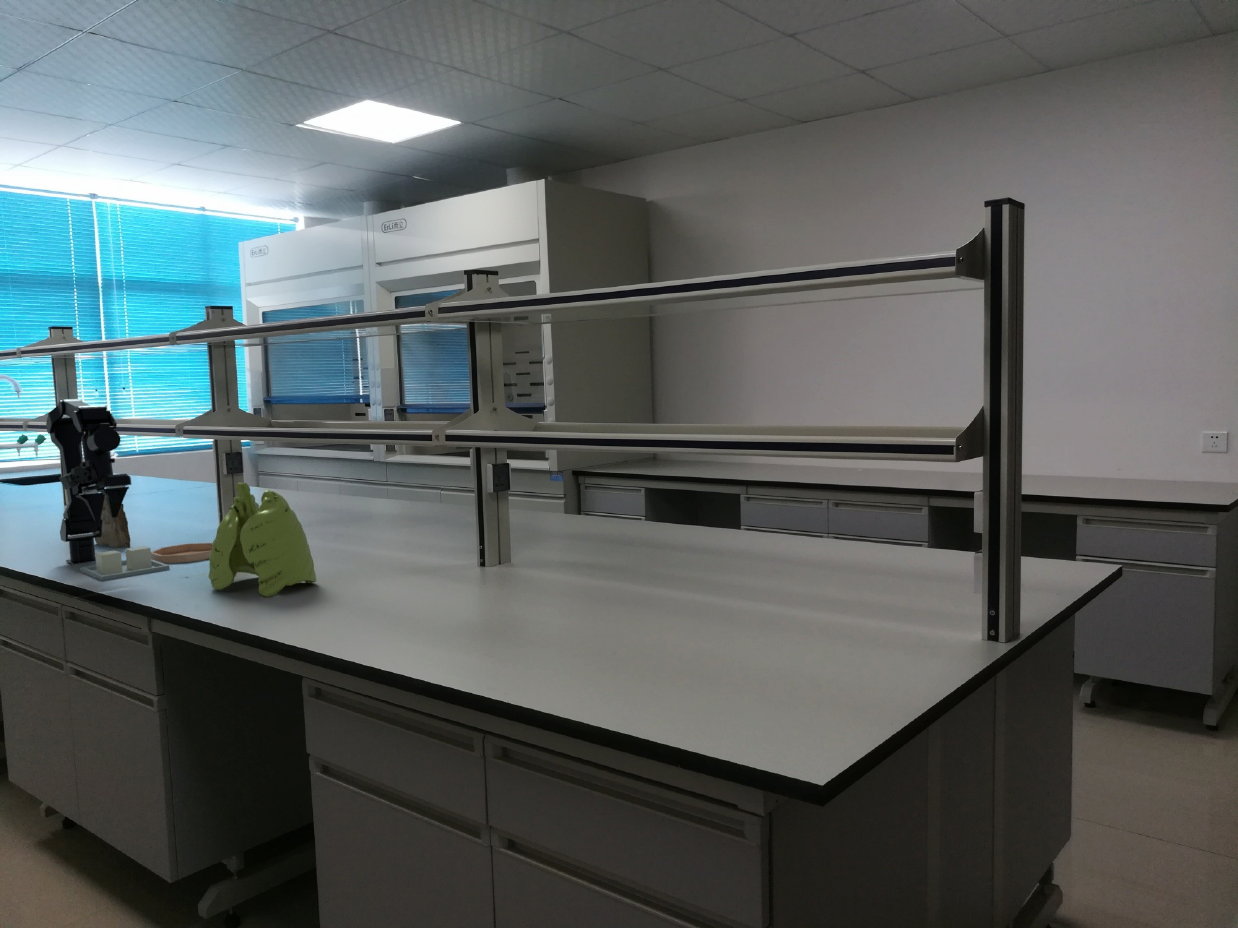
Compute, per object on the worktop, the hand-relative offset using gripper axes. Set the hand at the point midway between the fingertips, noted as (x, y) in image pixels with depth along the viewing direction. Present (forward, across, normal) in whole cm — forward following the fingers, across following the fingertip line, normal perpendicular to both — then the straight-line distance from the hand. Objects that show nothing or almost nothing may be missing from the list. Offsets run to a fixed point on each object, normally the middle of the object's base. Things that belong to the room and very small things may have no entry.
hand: (105, 519), depth 218 cm
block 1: (+13, -2, 0) cm, 13 cm away
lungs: (+21, +43, +13) cm, 49 cm away
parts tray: (+14, -2, +4) cm, 14 cm away
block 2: (+13, -2, +7) cm, 15 cm away
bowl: (+13, -5, +21) cm, 25 cm away
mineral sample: (+6, -45, +20) cm, 49 cm away
